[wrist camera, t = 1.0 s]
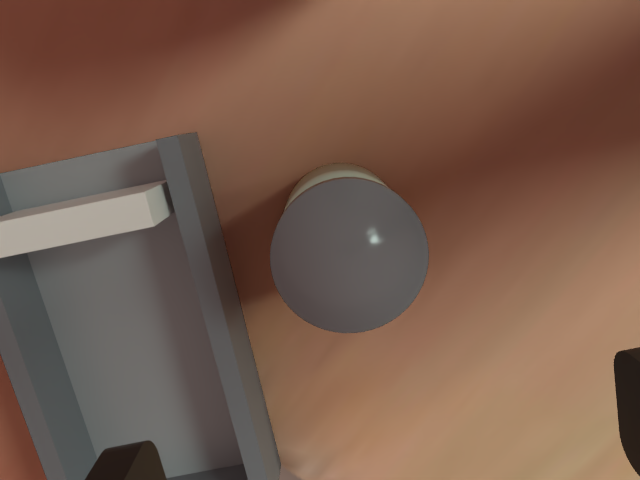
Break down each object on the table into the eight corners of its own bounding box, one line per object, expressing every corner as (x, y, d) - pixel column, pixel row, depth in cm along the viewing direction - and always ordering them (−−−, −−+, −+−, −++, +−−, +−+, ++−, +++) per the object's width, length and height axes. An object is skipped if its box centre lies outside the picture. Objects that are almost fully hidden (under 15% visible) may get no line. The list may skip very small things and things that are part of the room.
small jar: (386, 150, 28) (414, 164, 20) (406, 261, 30) (439, 317, 22) (271, 174, 28) (253, 197, 20) (296, 283, 30) (288, 346, 22)
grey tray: (196, 132, 28) (177, 135, 24) (280, 463, 32) (275, 511, 28) (-10, 175, 28) (-63, 185, 24) (101, 496, 33) (72, 548, 29)
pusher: (175, 177, 27) (144, 191, 22) (182, 206, 28) (154, 226, 23) (16, 210, 28) (-48, 231, 23) (26, 238, 28) (-36, 265, 23)
